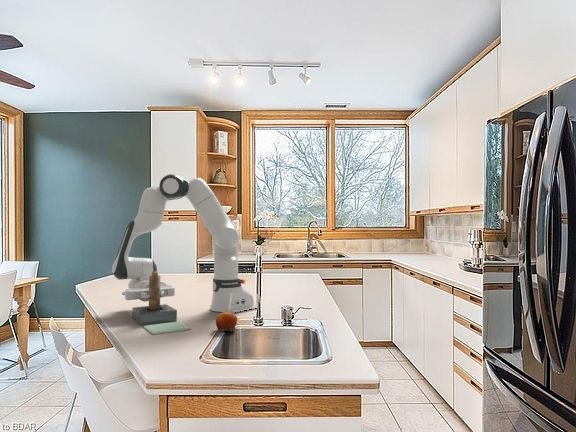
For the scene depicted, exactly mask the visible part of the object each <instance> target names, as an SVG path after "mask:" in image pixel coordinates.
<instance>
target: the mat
mask: <svg viewBox="0 0 576 432" xmlns="http://www.w3.org/2000/svg"><path fill="white" fill-rule="evenodd" d="M143 329H145V330H147V332H148V333H150V334H151V335H153V336H154V335H162V334H168V333H169V334H170V333H176V332H183V331H191V327H189V326H188V325H187V324H185V323H183V322H181V321H176V322H168V323H160V324H152V325H144V326H143Z"/></svg>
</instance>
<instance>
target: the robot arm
mask: <svg viewBox="0 0 576 432" xmlns="http://www.w3.org/2000/svg"><path fill="white" fill-rule="evenodd" d="M184 197H185V198H187V199H188V200H189V202H190V204H191V205H192V207H193V209H194V210H195V212H196V213H197V214H198V216H199V218H200V219H201V221H202V223H203V224H204V226H205V228H206V229H207V231H208V232H209V234H210V236H211V237H212V239H213V240H214V241H213V242H214V245H213V249H214V250H213V252H214V255H213V258H214V259H213V278H212V299H211V303H210V307H209V310H210V311H212V312H217V313H223V312H230V313H233V314H236V313H240V311H241V312H245V311H244V310H247V311H250V310H249V309H252V310H256V309H255V308H256V304H257V303H255V301H254V297H253V294H252V293H251V292H250V291H249V290H247V289H246V288H245V287H243V285H245V284H246V282H247V281H246V280H245V279H243V278H242V279H241V278H239V241H240V232H239V230H238V229H237V228H236V226H235V224H234V223H233V222H232V220H231V218H230V216H229V215H228V214H227V212H226V210H225V209H224V208H223V206H222V205H221V203H220V201H219V199H218V198H217V197H216V195H215V193H214V192H213V190H212V189H211V188H210V186H209V185H208V184H207V183H206V182H205V180H204V179H203V178H200V177H196V178H192V179H190V180H186V179H185V178H182V176H180V175H178V174H174V173H171V174H166V175H165V176H163V177H162V178H161V179H160V180H159V186H158V187H157V186H155V187H154V186H151V187H147V188H145V189H144V190H143V192H142V194H141V198H140V201H139V206H138V212H137V214H136V217H135V218H134V219H133V220H131V221H129V222H128V224H127V227H126V229H125V232H124V234H123V237H122V238H121V243H120V245H119V249H118V251H117V253H116V256H115V259H114V260H113V263H112V266H111V274H112V275H113V276H114V278H116V279H117V280H129V282H128V284H127V285H128V286H127V288H126V289H124V291H122V292H121V295H122V296H124V299H125V300H126V301H133V300H139V301H141V302H149V298H150V294H149V276H151V275H152V272H158V268H157V267H158V266H157V265H156V263H155V261H154V259H152V258H148V257H132V256H129V254H130V251H131V248H132V246H133V242H134V240H135V239H136V238H137V237H138V236H140V235H144V234H147V233H151V232H153V231H155V230H157V229H158V228H160V227H161V226H162V224H163V220H164V216H165V208H166V204H167V202H169V201H174V200H176V201H177V200H180V199H182V198H184ZM175 291H176V289H175V287H174V286H173V285H171V284H167V282H164V281H160V299H161V298H167V297H174V296H175V293H176V292H175ZM235 312H236V313H235Z"/></svg>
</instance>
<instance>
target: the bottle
mask: <svg viewBox="0 0 576 432" xmlns="http://www.w3.org/2000/svg"><path fill="white" fill-rule="evenodd" d="M160 282H161V275H160V274H159V271H157V272H152V275H151V276H149V294H150V298H149V301H148V306H149V311H155V310H160V305H161V298H160Z"/></svg>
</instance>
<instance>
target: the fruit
mask: <svg viewBox="0 0 576 432" xmlns="http://www.w3.org/2000/svg"><path fill="white" fill-rule="evenodd" d="M235 314H236V313H230V312H220V314H217V316H216V317H215V326H216V329H217V330H218V331H220V332H222V333H223V332H231V333H233V330H234V329H235V328H236V326H237V323H238V317H237V315H235Z"/></svg>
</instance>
